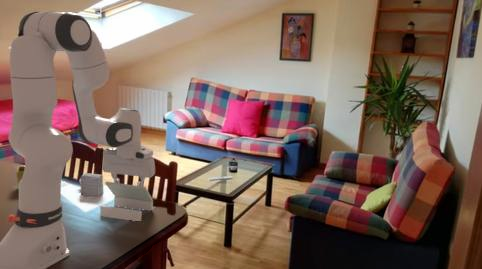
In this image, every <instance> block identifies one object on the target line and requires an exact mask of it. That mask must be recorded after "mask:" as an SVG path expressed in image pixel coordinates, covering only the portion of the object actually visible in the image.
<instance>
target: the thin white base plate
mask: <svg viewBox="0 0 482 269" xmlns="http://www.w3.org/2000/svg"><path fill="white" fill-rule="evenodd" d="M113 200H114V201H113V202H114V203H113V206H109V205H103V204H102V205H100V209H99V214H100V217H105V218H110V219H117V220H123V219H124V221H129V220H132V221H131V222H135V221H141V222H142V214H143V213H142V211H144V210H152V209H153V210H154V208H153V206H154V201H153V202H150V201H144V200H137V199H130V198H123V197H116V196H114V197H113ZM117 206H119V207H126V208H133V209H144V210H141V211H137V210H131V209H124V208H117Z"/></svg>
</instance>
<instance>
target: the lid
mask: <svg viewBox="0 0 482 269" xmlns="http://www.w3.org/2000/svg"><path fill="white" fill-rule="evenodd" d="M105 185H106V186H107V188H108V190H110V192H111V193H112V194H113V196H114V197H115V196H116V197H123V198H130V199H137V200H144V201H150V202H153V203H154V198H152V196H151V194H150V192H149V190H148V189H147V187H146V186H137V185H134V184H133V185H132V184H127V183H114V181H105Z"/></svg>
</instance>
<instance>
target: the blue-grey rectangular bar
mask: <svg viewBox="0 0 482 269" xmlns="http://www.w3.org/2000/svg"><path fill="white" fill-rule="evenodd" d="M116 207H117V208H124V209H131V210H137V211H142V210H139V209H132V208H125V207H118V206H116Z"/></svg>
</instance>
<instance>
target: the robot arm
mask: <svg viewBox="0 0 482 269" xmlns="http://www.w3.org/2000/svg"><path fill="white" fill-rule="evenodd" d="M56 52H64V53H65V54H66V55H67V58H68V61H69V65H70V68H71V72H72V76H73V80H72V83H71V84H72V85H71V86H72V94H73V98H74V103H75V108H76V113H77V118H78V134H79V137H80V138H81V140H82V141H84V143H88V144H96V145H100V146H104V147H107V148H106V149H104V150H103V152H102V157H103V158H102V166H101V169H102V171H103V172H104V173H109V174H110V176H111V177H112V180H113V183H120V182H121V181H120V178H118V176H117V175H127V176H131V177H134V176H135V177H139V179H140V181H138V182H137V185H136V186H142V187H144V181H145V180H146V179H147V178H148V179H149V178H153V176H155V174H156V165H155V164H156V163H155V158H154V157H153V155H154V151H153V149H150V148H147V147H146V146H144V145H142V141H141V134H142V117H141V114H140V112H139V110H137V109H135V108H134V109H133V108H126V107H120V108H118V111H117V113H116V114H115V115H113V116H112V117H110V118H105V117H101V116H100V115H99V114H98V113H97V112H96V107H95V102H94V91H96V90H98V89H100V88H102V87H104V86H105V84H106V83H107V82H108V81H109V78H110V68H109V64H108V60H107V57H106V53H105V51H104V48H103V46H102V44H101V41H100V40H99V37H98V35H97V33H96V32H95V31H94V30H92V28H91V25H90V23H89V22H88V21H87V19H85V17H83V16H82V15H80V14H77V13H74V12H61V11H55V10H46V11H34V12H30V13H27V14H25V15H24V16H23V17H22V19H21V20H20V22H19V26H18V34H17V37H15V38H14V39H13V40H12V42H11V45H10V51H9V74H10V76H9V77H10V84H11V95H12V119H11V127H10V128H11V129H10V130H9V133H8V142H9V144H10V146H11V148H12V149H13V151H14V152H16V154H17V155H19V156H21V157H23V159H24V167H25V169H24V173H23V177H22V179H21V180H20V181H19V184H18V208H17V209H16V213H15V214H9V215H8V216H7V222H11V223H14V224H13V225H12V227H10V229H9V230H8V231H7V233H6V234H5V236H4V237H3V238H2V240H0V269H47V268H49V267H51V266H52V265H54V264H56V263H58V262H59V261H61V260H63V259H66V258H67V257H68V256H70V255H71V252H70V250H69V248H68V247H67V239H66V238H67V237H66V228H65V226H64V224H63V221H62V218H63V205H62V204H61V202H62V201H61V199H62V198H61V196H62V195H61V194H62V193H61V192H62V190H61V189H62V187H61V186H62V177H63V173H64V170H65V167H66V164H67V163H68V162H69V161H70V159H71V158H72V156H73V153H74V150H73V149H74V148H73V143H72V141H71V140H70V139H69V138H68V137H67V135H65V133H63V132H62V131H60V130H59V129H56V128H54V127H53V116H54V111H55V108H56V107H57V105H58V94H57V81H56V70H55V65H54V58H55V56H56ZM120 184H121V183H120Z"/></svg>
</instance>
